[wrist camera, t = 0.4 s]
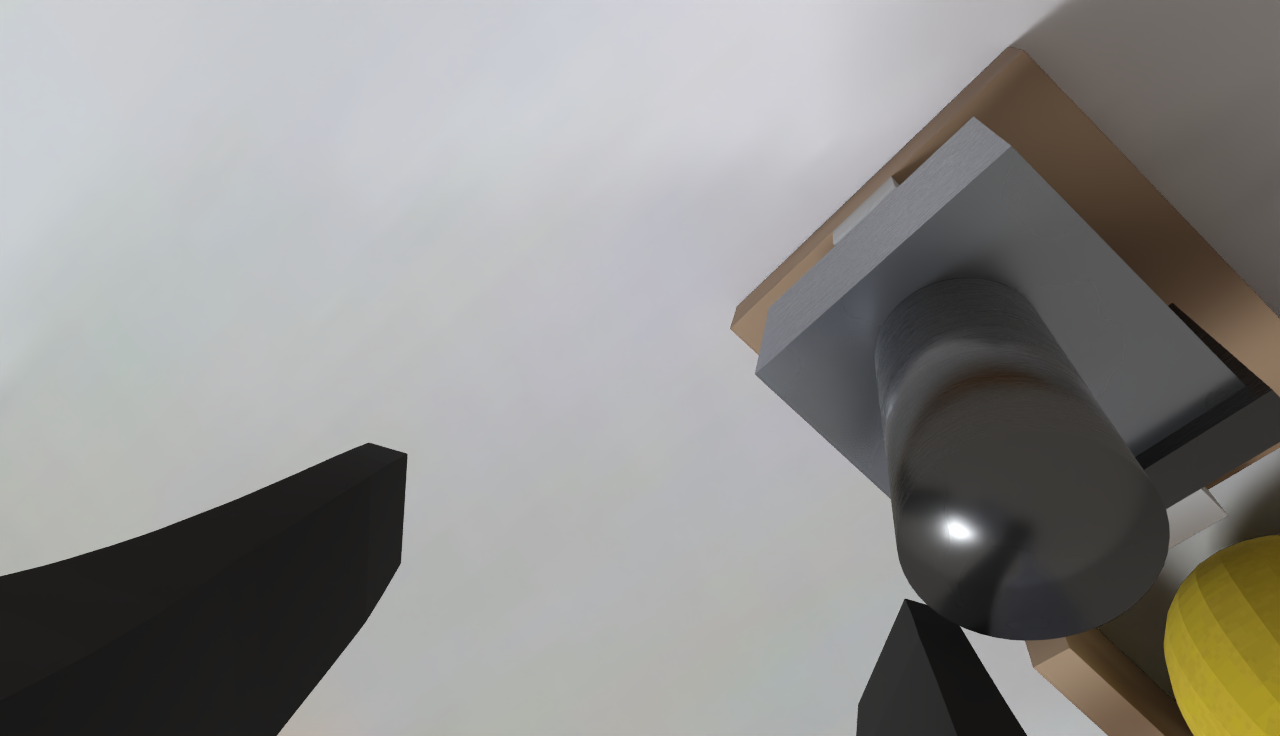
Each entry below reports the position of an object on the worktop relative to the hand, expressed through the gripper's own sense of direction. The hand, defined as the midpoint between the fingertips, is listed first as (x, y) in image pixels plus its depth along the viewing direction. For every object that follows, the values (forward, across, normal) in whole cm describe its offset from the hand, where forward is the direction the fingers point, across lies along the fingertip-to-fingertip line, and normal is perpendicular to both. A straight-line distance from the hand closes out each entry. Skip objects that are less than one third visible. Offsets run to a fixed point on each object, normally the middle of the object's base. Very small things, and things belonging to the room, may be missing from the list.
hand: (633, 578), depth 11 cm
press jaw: (+7, -5, -3) cm, 9 cm away
